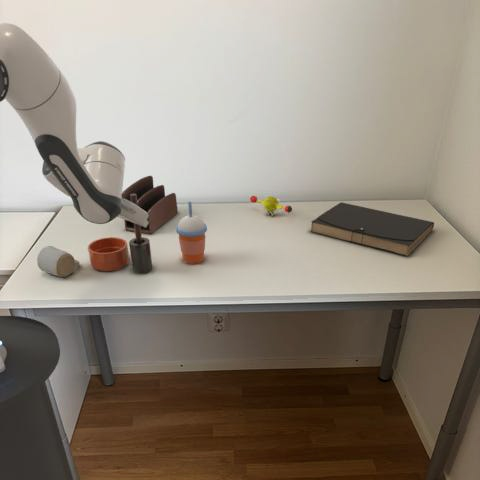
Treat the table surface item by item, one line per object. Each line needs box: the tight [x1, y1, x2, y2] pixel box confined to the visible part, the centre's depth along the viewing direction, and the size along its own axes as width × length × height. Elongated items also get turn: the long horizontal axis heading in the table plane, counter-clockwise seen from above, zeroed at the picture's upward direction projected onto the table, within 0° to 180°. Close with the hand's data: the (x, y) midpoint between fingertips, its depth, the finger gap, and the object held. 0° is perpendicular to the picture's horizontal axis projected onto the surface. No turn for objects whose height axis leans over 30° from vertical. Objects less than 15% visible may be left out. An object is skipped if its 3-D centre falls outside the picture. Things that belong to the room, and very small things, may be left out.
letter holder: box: [121, 175, 179, 235], centre depth 176 cm, size 10×20×14 cm, turn 159°
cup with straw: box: [175, 201, 208, 265], centre depth 150 cm, size 9×9×18 cm
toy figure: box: [249, 195, 293, 217], centre depth 181 cm, size 18×6×7 cm, turn 49°
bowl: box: [87, 236, 130, 272], centre depth 151 cm, size 11×11×6 cm
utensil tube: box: [128, 236, 154, 275], centre depth 147 cm, size 6×6×9 cm
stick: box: [130, 194, 143, 244], centre depth 143 cm, size 2×2×22 cm
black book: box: [310, 201, 435, 257], centre depth 169 cm, size 33×4×24 cm
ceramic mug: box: [36, 245, 80, 278], centre depth 147 cm, size 11×8×8 cm
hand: (134, 220), depth 139 cm, fingers open, 8 cm apart
